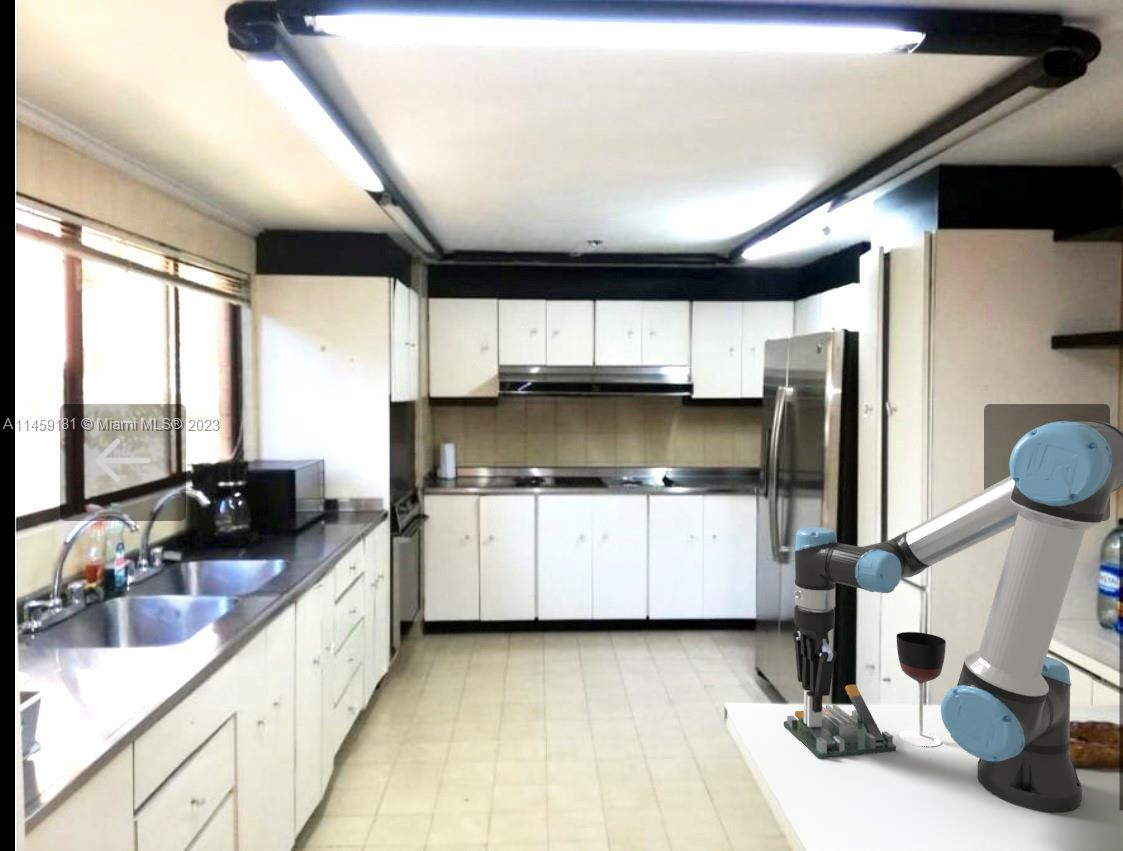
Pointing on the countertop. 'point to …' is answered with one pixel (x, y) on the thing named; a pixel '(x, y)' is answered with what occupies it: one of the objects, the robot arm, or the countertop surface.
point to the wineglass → (920, 673)
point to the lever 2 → (864, 712)
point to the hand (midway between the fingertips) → (812, 724)
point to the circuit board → (840, 735)
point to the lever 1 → (815, 730)
